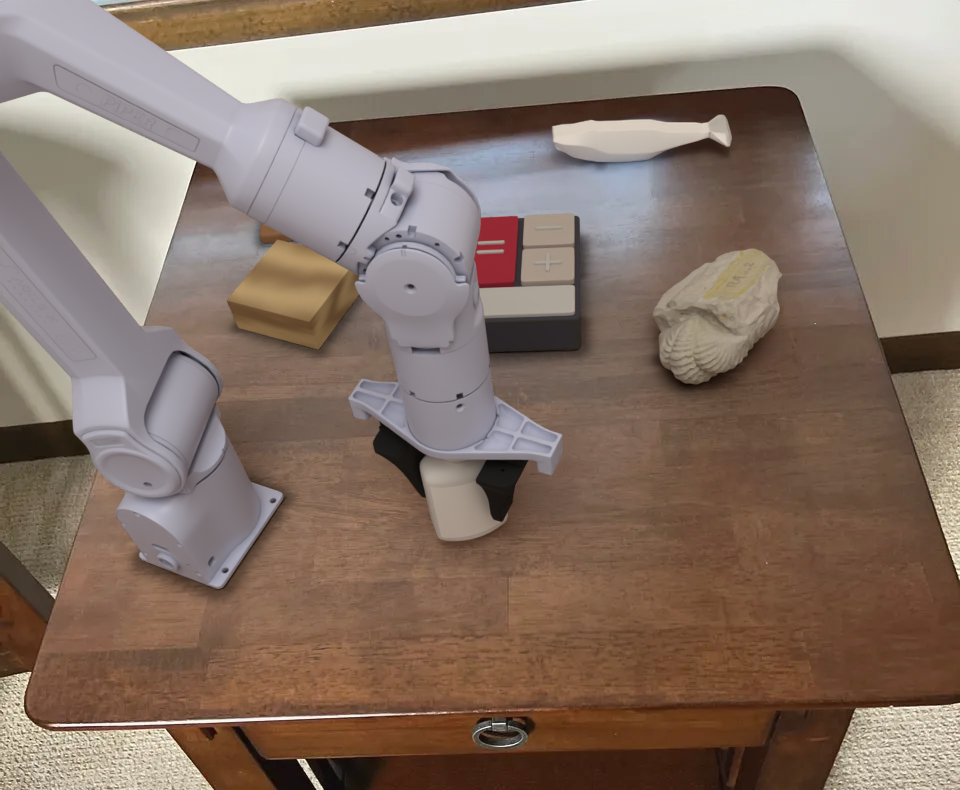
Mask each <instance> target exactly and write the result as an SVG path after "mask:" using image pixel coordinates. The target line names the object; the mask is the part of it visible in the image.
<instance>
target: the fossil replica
mask: <svg viewBox="0 0 960 790" xmlns="http://www.w3.org/2000/svg"><path fill="white" fill-rule="evenodd" d="M782 276H783V273H782V272H781V271H780V270H779V267H778V265H777V263H776V261H775V260H774V259H772V258H771V257H769V256H768V255H767V254H766V253H765V252H764V251H762V250H759V249H757V248H747V249H743V250H734V251H730V252H724V253H723V254H721V255H718V256H717V257H716V258H715V259H714V261H711V262H705V263H703V264H702V265H701V266H699V267H697V268H696V269H695V270H692V271H691V272H690V273H689V274H688V275H687V276H686V277H684V278H683V279H682V280H680V281H679V282H677V283H675V284H674V285H673V286H672V287H670V288H669V289H667V290H666V292H664V293H663V294H662V295H661V297H660V299H659V300H658V301H657V303H656V306H655V307H654V309H653V313H652V319H653V320H654V321H655V323H656V326H657V328H658V330H659V331H660V333H659V335H658V345H659V361H660V363H661V365H662V366H663V367H664V369H667V370H669V371H671V373H673V376H674V377H675V379H677V380H679V381H680V382H682V383H684V384H692V385H699V384H701V383H704V382H709V381H710V379H711V378H712V377H716V376H717V375H718V374H719V373H727V372H728V371H730V370H733V369H735V368H736V367H737V366H738V365H740V364H742V362H743V360H744V358H746V357H748V355H749V354H748V352H749V351H750V350H752V349H753V348H754V344H756V343H758V341H759V340H760V339H762V338H764V337H765V335H766V334H768V332H769V331H770V330H771V329H772V328H773V327H775V325H776V323H777V321H778V317H779V313H780V309H781V308H780V303H779V302H778V284H779V281H780V279H781V277H782Z"/></svg>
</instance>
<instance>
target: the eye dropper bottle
mask: <svg viewBox="0 0 960 790" xmlns="http://www.w3.org/2000/svg"><path fill="white" fill-rule="evenodd" d="M485 461H486V460H445V459H437V458H434V457H430V456H428V455H426V456H425V457H424V458H423V459H422V460H421V462H420V473H421V478H422V482H423V486H424V491H425V495H426V498H425V499H426V502H427V506H428V512H429V515H430V519H431V523H432V527H433V530H434V532H435V535H436V536H437V539H440V540H441V541H443V542H463V541H469V540H474V539H477V538H481V537H484V536H486V535H488V534H490V533H492V532H493V531H495V530H497V529H499V528H500V527H501V526H503V525H504V524H505V523H506V522H507V520H508V519H509V512H508V513H507V515H506V517H505V518H504V520H503V521H502V522H499V521H496V520H493V518H492V516H491V514H490V508H489V501H488V498H487V496H486V494H485V492H484V490H483V489H482V487H481V486H479V485H478V484H477V483H476V478H477V476H478V474H479V472H480V471H481V469H482V467H483V465H484V463H485Z"/></svg>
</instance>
